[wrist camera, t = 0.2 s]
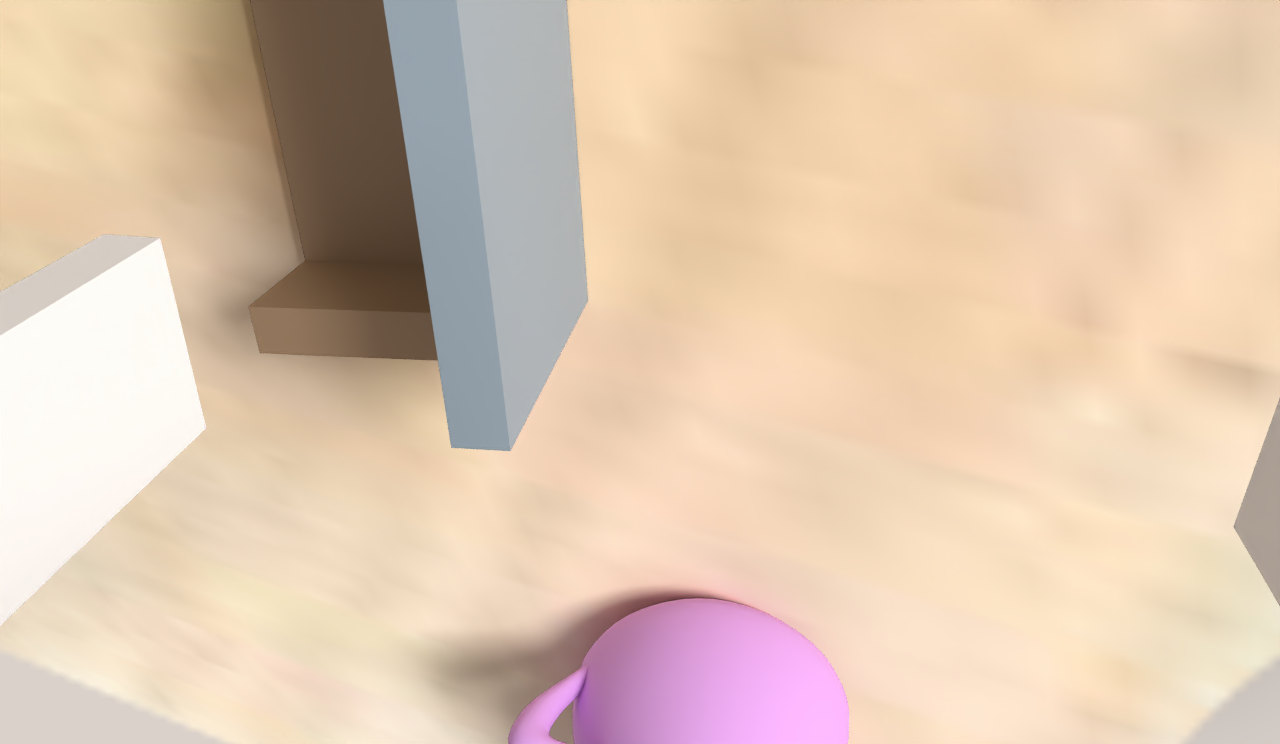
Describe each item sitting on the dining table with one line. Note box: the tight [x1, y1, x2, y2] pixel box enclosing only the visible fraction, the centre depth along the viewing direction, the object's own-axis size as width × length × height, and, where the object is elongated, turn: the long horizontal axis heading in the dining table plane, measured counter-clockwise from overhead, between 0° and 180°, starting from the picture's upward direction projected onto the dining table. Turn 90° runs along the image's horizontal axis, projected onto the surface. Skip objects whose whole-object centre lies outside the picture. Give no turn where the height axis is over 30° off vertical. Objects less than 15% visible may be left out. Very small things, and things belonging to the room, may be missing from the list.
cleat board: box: [249, 0, 588, 451], centre depth 33 cm, size 22×12×12 cm, turn 2°
